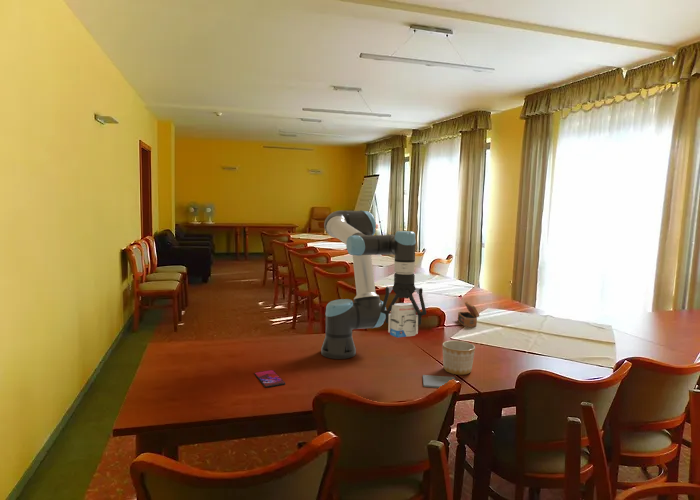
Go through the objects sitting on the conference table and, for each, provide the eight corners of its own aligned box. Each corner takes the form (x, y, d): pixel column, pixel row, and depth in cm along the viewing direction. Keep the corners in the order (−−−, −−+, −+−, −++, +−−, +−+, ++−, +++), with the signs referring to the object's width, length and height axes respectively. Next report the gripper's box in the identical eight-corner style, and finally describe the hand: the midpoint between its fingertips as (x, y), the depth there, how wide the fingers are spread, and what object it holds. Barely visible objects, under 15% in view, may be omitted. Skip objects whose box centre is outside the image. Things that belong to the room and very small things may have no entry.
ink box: (396, 338, 169) (397, 306, 168) (389, 334, 174) (390, 303, 173) (416, 335, 173) (417, 304, 172) (409, 332, 178) (409, 302, 176)
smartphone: (273, 369, 181) (286, 383, 168) (273, 371, 181) (286, 385, 168) (253, 372, 178) (265, 386, 165) (253, 375, 178) (265, 389, 165)
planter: (439, 364, 192) (440, 339, 191) (469, 365, 192) (470, 340, 191) (444, 376, 180) (445, 349, 179) (477, 377, 179) (478, 350, 178)
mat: (423, 386, 169) (423, 385, 169) (422, 376, 179) (422, 374, 179) (457, 389, 167) (457, 387, 167) (454, 378, 177) (454, 377, 177)
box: (435, 318, 269) (435, 298, 268) (481, 317, 272) (482, 298, 271) (450, 332, 242) (451, 309, 240) (501, 331, 245) (503, 309, 244)
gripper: (373, 273, 170) (372, 333, 172) (434, 275, 166) (433, 336, 168) (375, 270, 177) (374, 328, 179) (434, 272, 173) (432, 331, 175)
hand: (403, 332), depth 173 cm, fingers closed on ink box, 9 cm apart
